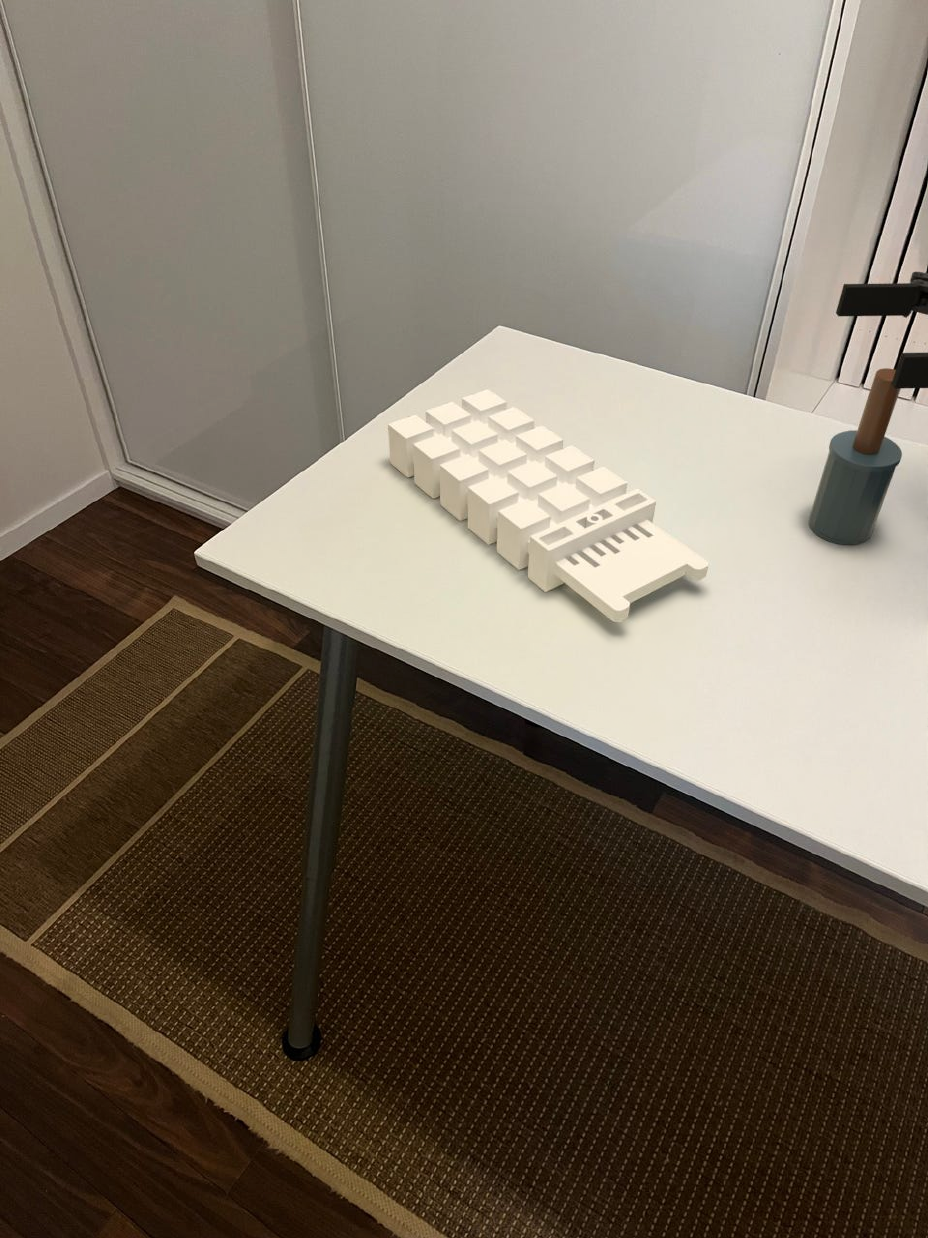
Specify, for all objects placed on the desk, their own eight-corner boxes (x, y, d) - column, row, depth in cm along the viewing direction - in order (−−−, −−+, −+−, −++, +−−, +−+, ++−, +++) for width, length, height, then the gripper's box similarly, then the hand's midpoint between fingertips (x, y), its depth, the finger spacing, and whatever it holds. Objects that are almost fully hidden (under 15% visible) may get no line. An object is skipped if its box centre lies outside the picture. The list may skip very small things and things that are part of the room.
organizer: (487, 389, 105) (721, 545, 84) (486, 426, 108) (712, 586, 87) (387, 424, 99) (612, 600, 78) (390, 463, 102) (606, 643, 81)
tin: (871, 515, 95) (897, 442, 90) (871, 549, 91) (898, 475, 85) (810, 504, 97) (831, 432, 91) (807, 538, 93) (829, 464, 87)
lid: (897, 447, 90) (927, 363, 84) (898, 482, 86) (930, 396, 80) (828, 436, 92) (853, 353, 86) (825, 470, 87) (851, 385, 81)
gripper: (1178, 445, 74) (910, 449, 73) (1025, 311, 92) (811, 313, 92) (1230, 355, 69) (944, 359, 68) (1057, 233, 87) (831, 235, 87)
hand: (867, 333), depth 80 cm, fingers open, 13 cm apart
